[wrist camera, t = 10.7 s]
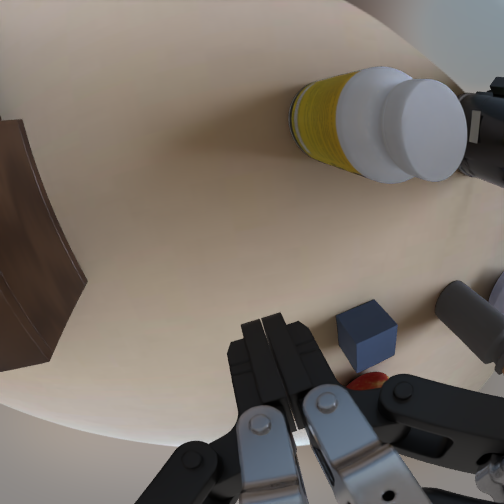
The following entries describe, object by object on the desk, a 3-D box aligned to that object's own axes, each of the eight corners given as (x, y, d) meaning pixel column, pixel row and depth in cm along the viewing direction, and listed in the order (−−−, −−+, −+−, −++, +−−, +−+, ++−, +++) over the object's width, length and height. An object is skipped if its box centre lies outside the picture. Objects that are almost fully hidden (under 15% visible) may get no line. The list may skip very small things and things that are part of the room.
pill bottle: (285, 161, 21) (375, 203, 10) (285, 76, 18) (379, 40, 8) (360, 162, 22) (469, 203, 12) (362, 86, 19) (477, 81, 9)
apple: (389, 374, 36) (416, 413, 29) (342, 408, 37) (364, 449, 30) (371, 352, 32) (403, 398, 25) (317, 392, 33) (340, 441, 26)
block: (335, 315, 28) (356, 344, 24) (374, 299, 28) (397, 324, 24) (338, 345, 30) (356, 373, 26) (374, 329, 31) (394, 355, 26)
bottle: (446, 279, 30) (527, 349, 17) (468, 280, 32) (541, 340, 18) (428, 318, 33) (498, 392, 19) (451, 315, 34) (516, 379, 21)
